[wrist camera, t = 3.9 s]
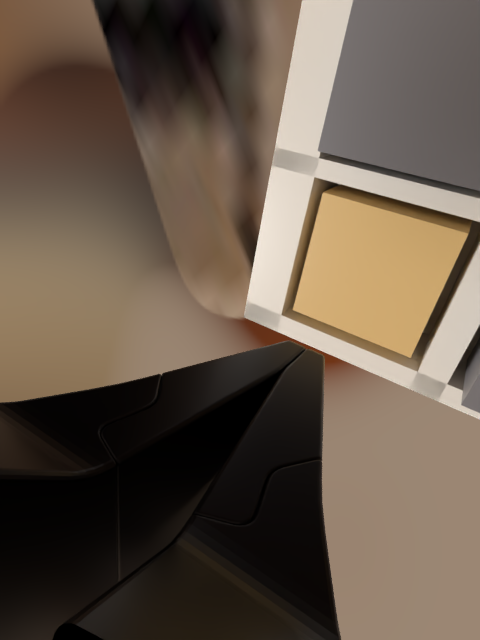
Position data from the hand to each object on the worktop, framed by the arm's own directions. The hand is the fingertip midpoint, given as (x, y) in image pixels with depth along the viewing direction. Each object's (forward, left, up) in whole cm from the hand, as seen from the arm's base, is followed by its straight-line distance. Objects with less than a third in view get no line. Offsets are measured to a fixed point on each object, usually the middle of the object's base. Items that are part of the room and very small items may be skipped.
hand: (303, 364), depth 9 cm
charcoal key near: (0, -6, -8) cm, 10 cm away
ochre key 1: (0, 0, -9) cm, 9 cm away
